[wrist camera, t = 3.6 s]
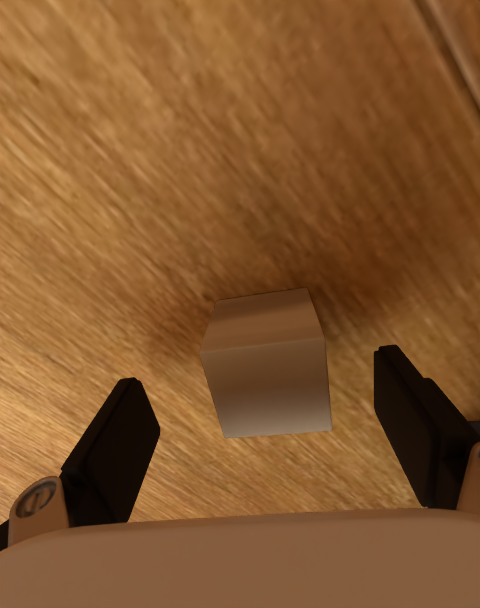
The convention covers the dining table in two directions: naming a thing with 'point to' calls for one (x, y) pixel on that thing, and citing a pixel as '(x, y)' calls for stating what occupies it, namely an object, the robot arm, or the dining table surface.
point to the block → (267, 365)
